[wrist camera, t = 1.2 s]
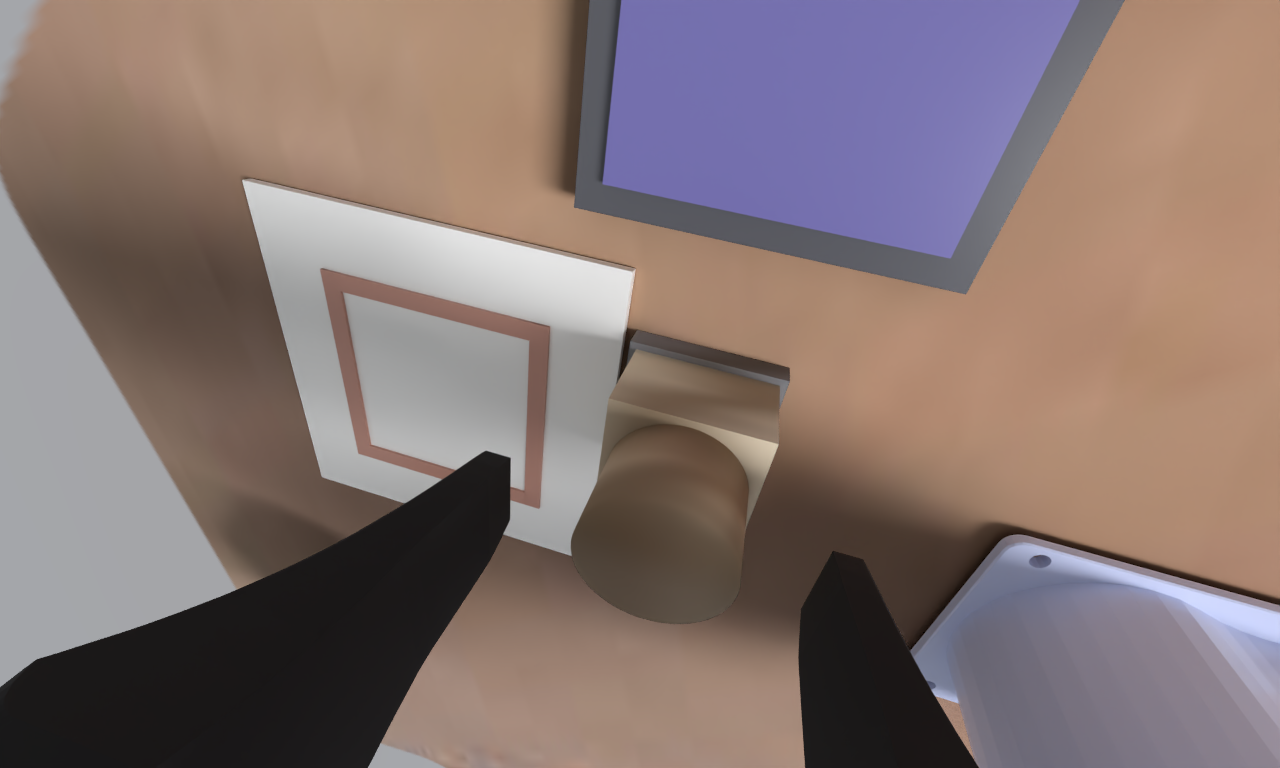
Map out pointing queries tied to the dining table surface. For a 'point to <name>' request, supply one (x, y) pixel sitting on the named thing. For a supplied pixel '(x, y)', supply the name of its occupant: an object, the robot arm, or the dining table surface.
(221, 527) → the dining table surface
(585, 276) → the card sheet
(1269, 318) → the dining table surface
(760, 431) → the stamp
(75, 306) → the dining table surface
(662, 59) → the ink pad
